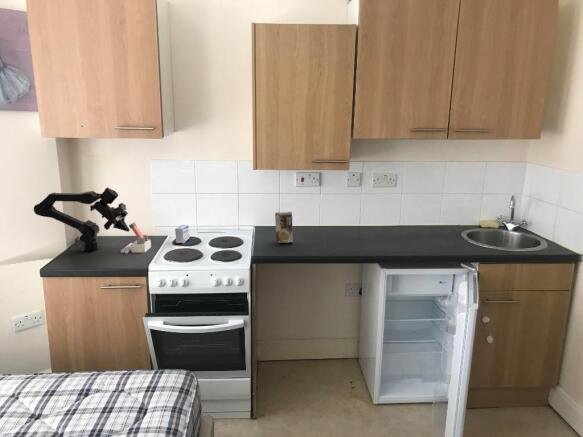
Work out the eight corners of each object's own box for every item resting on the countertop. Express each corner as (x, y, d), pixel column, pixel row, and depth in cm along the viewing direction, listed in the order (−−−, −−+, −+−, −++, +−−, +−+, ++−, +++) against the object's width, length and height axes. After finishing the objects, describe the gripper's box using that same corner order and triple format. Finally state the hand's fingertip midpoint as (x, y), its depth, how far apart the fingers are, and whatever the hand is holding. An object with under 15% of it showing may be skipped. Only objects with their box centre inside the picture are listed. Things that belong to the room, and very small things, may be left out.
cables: (127, 254, 227) (126, 251, 227) (119, 254, 228) (118, 251, 227) (137, 245, 242) (137, 242, 241) (130, 245, 242) (130, 242, 242)
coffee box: (292, 240, 245) (292, 211, 241) (293, 244, 239) (292, 214, 235) (276, 240, 245) (275, 212, 241) (275, 244, 239) (275, 214, 235)
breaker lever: (140, 242, 232) (128, 225, 230) (142, 240, 235) (131, 224, 233) (143, 240, 231) (131, 223, 229) (145, 238, 235) (134, 222, 233)
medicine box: (183, 244, 242) (182, 228, 240) (176, 244, 243) (174, 228, 241) (189, 240, 249) (188, 225, 247) (182, 239, 250) (181, 224, 248)
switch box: (131, 252, 230) (130, 239, 228) (138, 247, 239) (136, 234, 237) (145, 252, 230) (143, 239, 228) (151, 246, 239) (149, 234, 237)
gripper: (107, 203, 219) (132, 224, 221) (122, 195, 237) (145, 215, 239) (93, 219, 221) (118, 240, 224) (109, 210, 239) (132, 230, 242)
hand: (129, 231), depth 232 cm, fingers closed
